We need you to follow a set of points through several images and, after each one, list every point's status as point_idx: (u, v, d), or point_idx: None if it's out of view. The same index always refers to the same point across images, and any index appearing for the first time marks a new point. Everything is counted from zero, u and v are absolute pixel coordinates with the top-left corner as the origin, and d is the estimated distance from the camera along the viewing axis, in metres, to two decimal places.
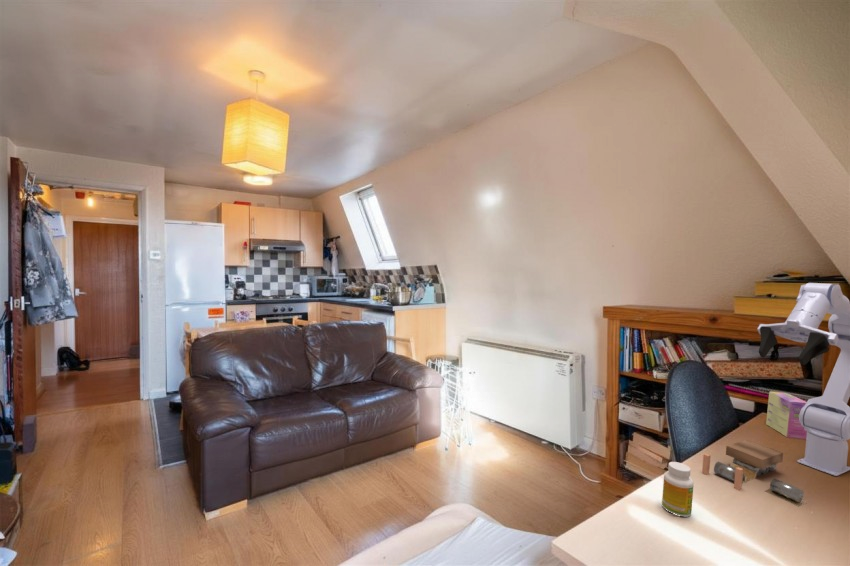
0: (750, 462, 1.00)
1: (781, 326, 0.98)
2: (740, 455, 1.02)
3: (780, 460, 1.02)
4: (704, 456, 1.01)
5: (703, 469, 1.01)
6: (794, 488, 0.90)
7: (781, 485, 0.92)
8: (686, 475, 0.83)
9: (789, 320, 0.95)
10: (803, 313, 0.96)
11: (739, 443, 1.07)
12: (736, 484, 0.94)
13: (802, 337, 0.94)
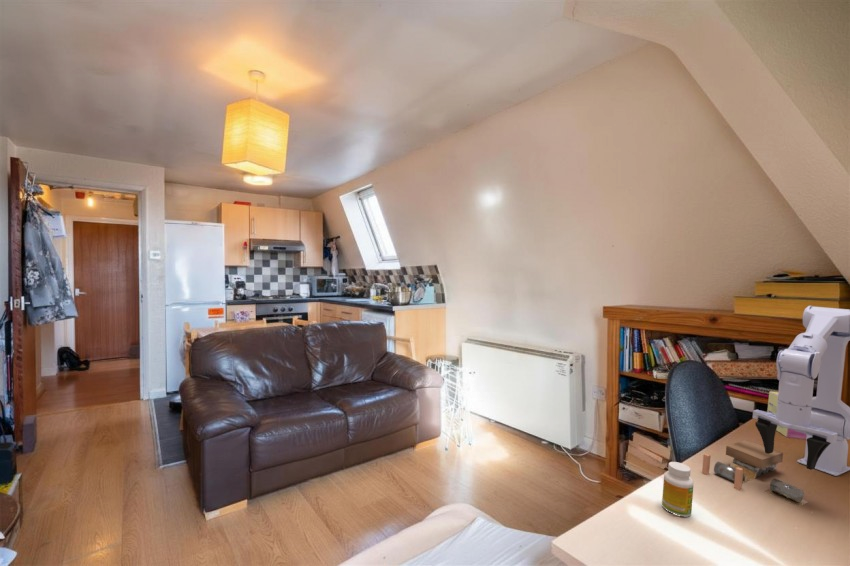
0: (750, 462, 1.00)
1: None
2: (740, 455, 1.02)
3: (780, 460, 1.02)
4: (704, 456, 1.01)
5: (703, 469, 1.01)
6: (794, 488, 0.90)
7: (781, 485, 0.92)
8: (686, 475, 0.83)
9: (780, 424, 0.90)
10: (791, 408, 0.89)
11: (739, 443, 1.07)
12: (736, 484, 0.94)
13: (800, 431, 0.89)
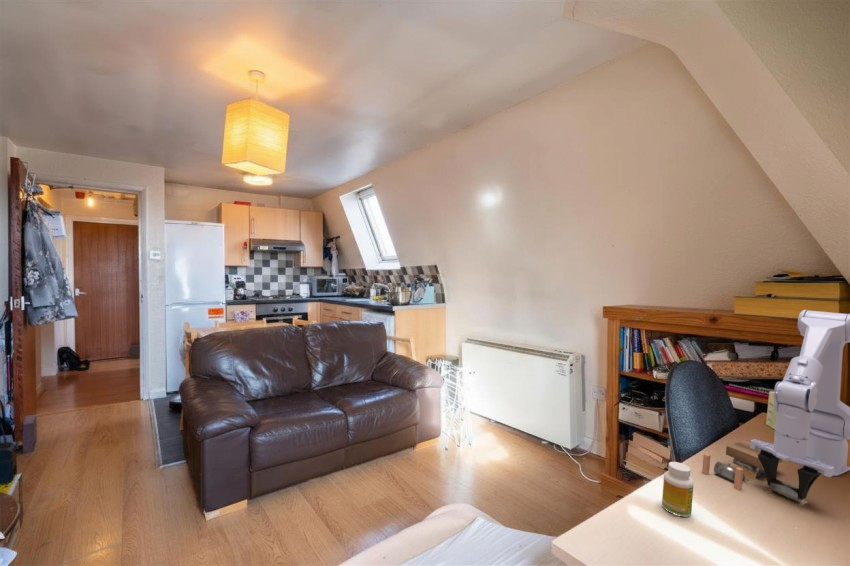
0: (750, 462, 1.00)
1: None
2: (740, 455, 1.02)
3: (780, 460, 1.02)
4: (704, 456, 1.01)
5: (703, 469, 1.01)
6: (794, 488, 0.90)
7: (781, 485, 0.92)
8: (686, 475, 0.83)
9: (778, 456, 0.90)
10: (788, 440, 0.89)
11: (739, 443, 1.07)
12: (736, 484, 0.94)
13: (797, 463, 0.90)
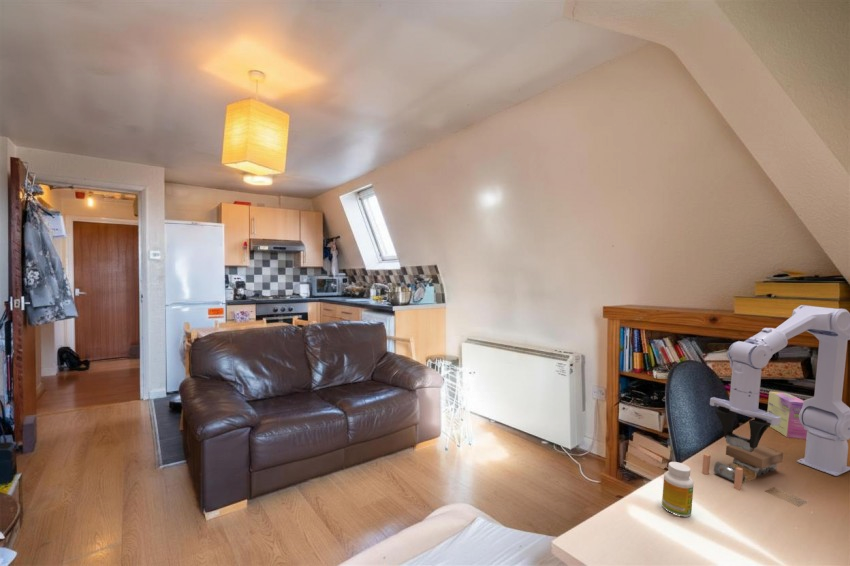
0: (750, 462, 1.00)
1: None
2: (740, 455, 1.02)
3: (780, 460, 1.02)
4: (704, 456, 1.01)
5: (703, 469, 1.01)
6: (746, 439, 0.99)
7: (735, 437, 1.01)
8: (686, 475, 0.83)
9: (732, 409, 0.99)
10: (741, 395, 0.98)
11: None
12: (736, 484, 0.94)
13: (750, 416, 0.99)
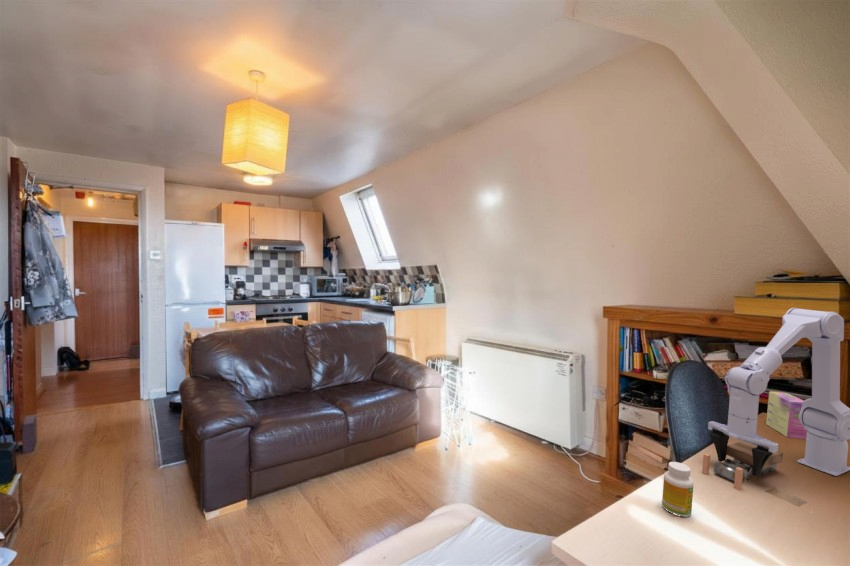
0: (750, 462, 1.00)
1: None
2: (740, 455, 1.02)
3: (780, 460, 1.02)
4: (704, 456, 1.01)
5: (703, 469, 1.01)
6: (744, 467, 0.99)
7: (733, 464, 1.01)
8: (686, 475, 0.83)
9: (730, 435, 0.99)
10: (739, 421, 0.99)
11: (739, 443, 1.07)
12: (736, 484, 0.94)
13: None
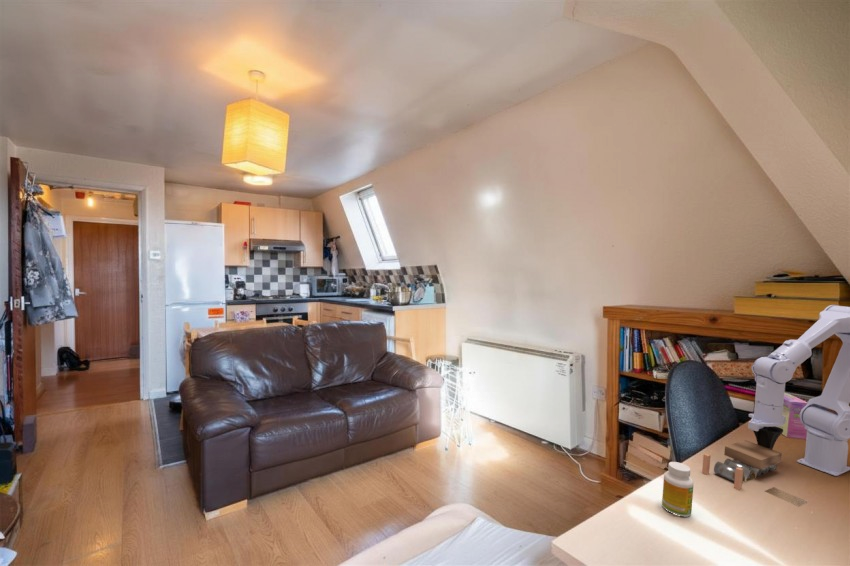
0: (749, 462, 1.00)
1: None
2: (739, 455, 1.02)
3: (779, 460, 1.02)
4: (704, 456, 1.01)
5: (703, 469, 1.01)
6: (744, 466, 0.99)
7: (733, 464, 1.01)
8: (686, 475, 0.83)
9: None
10: None
11: (738, 443, 1.07)
12: (736, 484, 0.94)
13: None
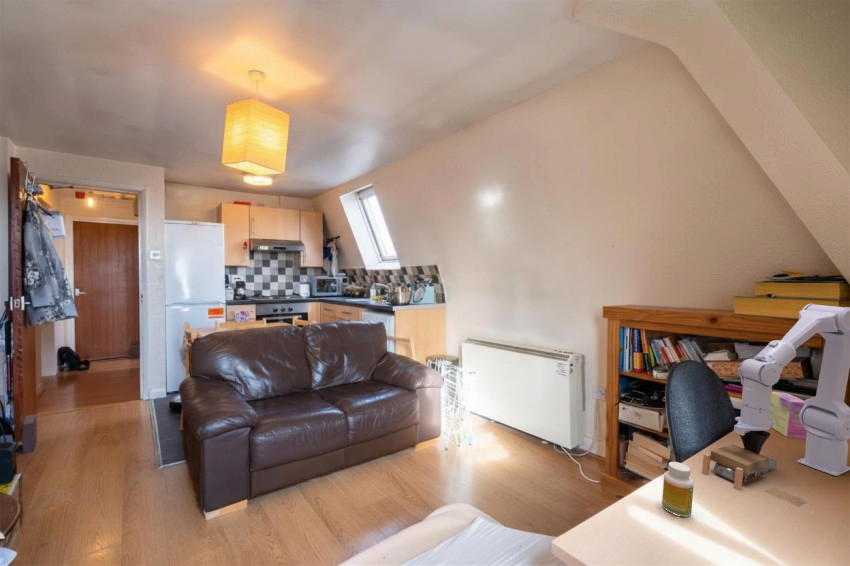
0: (734, 468, 0.97)
1: None
2: (725, 460, 0.99)
3: (766, 466, 0.99)
4: (704, 456, 1.01)
5: (703, 469, 1.01)
6: None
7: None
8: (686, 475, 0.83)
9: None
10: None
11: (724, 448, 1.04)
12: (736, 484, 0.94)
13: None
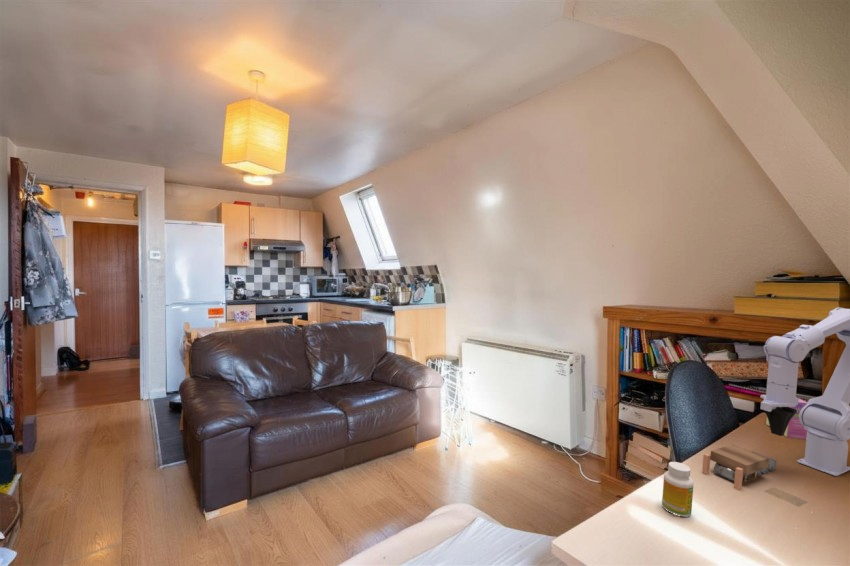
0: (734, 468, 0.97)
1: None
2: (725, 460, 0.99)
3: (766, 466, 0.99)
4: (704, 456, 1.01)
5: (703, 469, 1.01)
6: None
7: None
8: (686, 475, 0.83)
9: None
10: None
11: (724, 448, 1.04)
12: (736, 484, 0.94)
13: None
